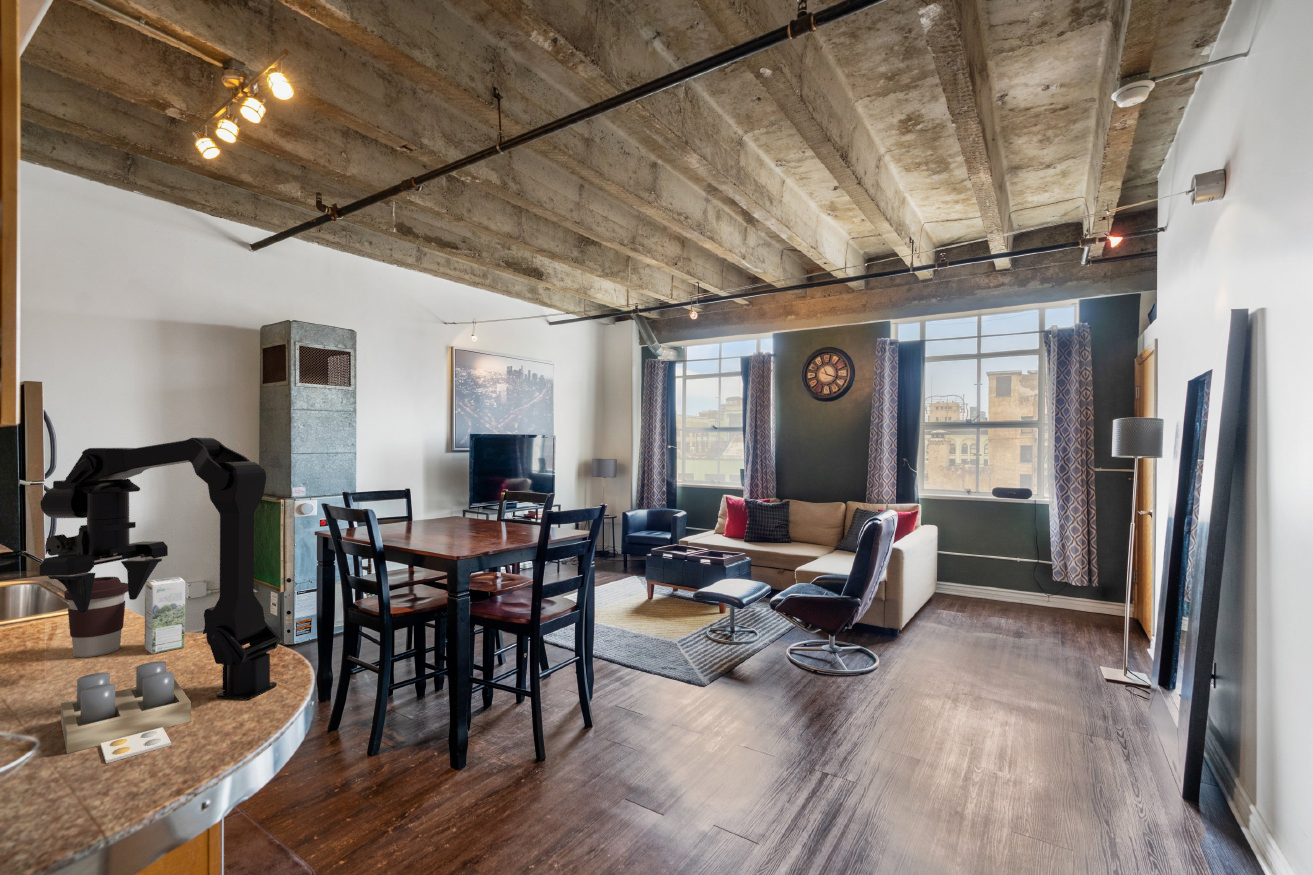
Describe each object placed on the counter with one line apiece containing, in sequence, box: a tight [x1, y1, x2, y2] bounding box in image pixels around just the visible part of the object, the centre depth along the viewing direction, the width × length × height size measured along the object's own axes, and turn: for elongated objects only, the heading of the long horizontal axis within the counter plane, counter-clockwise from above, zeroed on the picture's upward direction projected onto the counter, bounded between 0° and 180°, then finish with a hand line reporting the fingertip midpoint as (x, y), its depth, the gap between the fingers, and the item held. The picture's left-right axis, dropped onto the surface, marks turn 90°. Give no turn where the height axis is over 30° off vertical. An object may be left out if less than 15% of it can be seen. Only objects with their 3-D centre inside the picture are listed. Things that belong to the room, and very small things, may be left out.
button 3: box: [135, 660, 167, 695], centre depth 102 cm, size 4×4×4 cm
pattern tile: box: [100, 727, 172, 764], centre depth 89 cm, size 7×7×1 cm
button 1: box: [76, 672, 111, 709], centre depth 97 cm, size 4×4×4 cm
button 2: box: [81, 683, 116, 723], centre depth 92 cm, size 4×4×4 cm
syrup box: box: [144, 576, 186, 655], centre depth 132 cm, size 6×6×14 cm
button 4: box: [143, 671, 175, 708], centre depth 97 cm, size 4×4×4 cm
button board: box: [60, 678, 192, 754], centre depth 97 cm, size 14×14×3 cm
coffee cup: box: [64, 576, 128, 658], centre depth 130 cm, size 10×10×15 cm
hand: (109, 605), depth 112 cm, fingers open, 9 cm apart
